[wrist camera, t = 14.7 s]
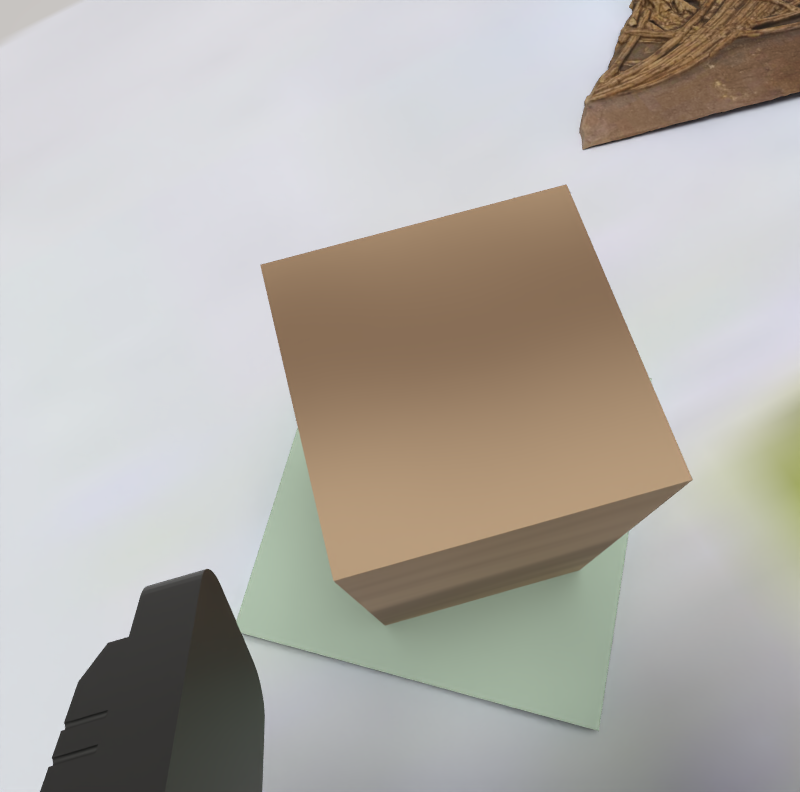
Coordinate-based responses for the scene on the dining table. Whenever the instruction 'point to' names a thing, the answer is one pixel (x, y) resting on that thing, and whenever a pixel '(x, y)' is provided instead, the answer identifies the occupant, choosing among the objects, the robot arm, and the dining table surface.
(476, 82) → the dining table surface
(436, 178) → the dining table surface
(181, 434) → the dining table surface
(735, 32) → the wooden fragment
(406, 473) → the walnut block
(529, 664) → the mat
